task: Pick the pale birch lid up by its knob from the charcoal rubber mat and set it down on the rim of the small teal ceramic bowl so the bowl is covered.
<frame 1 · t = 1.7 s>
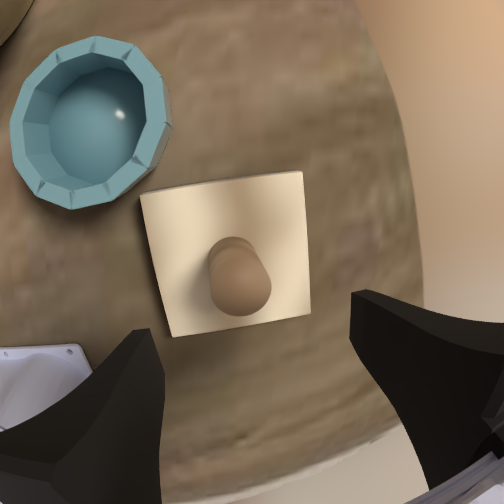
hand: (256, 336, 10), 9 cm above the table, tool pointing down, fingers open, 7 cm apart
lid: (230, 254, 19), point 1 cm above the table, touching mat
bowl: (102, 125, 16), on the table
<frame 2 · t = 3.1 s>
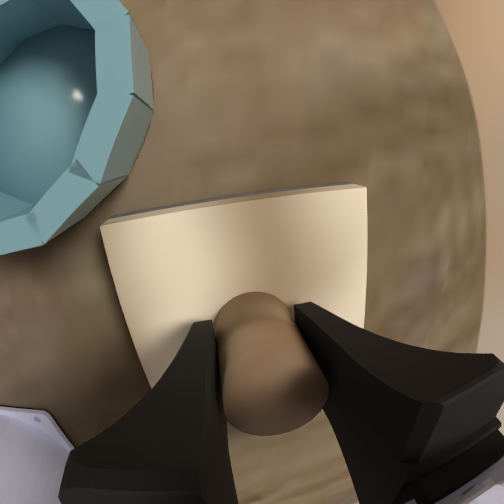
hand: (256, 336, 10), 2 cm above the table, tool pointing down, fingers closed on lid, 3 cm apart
lid: (249, 312, 12), point 1 cm above the table, touching gripper, mat
mat: (246, 305, 13), on the table
bowl: (49, 112, 9), on the table
when the fingers open (7 cm above the table, at t = 5.4 s): lid drops 1 cm, resting on bowl.
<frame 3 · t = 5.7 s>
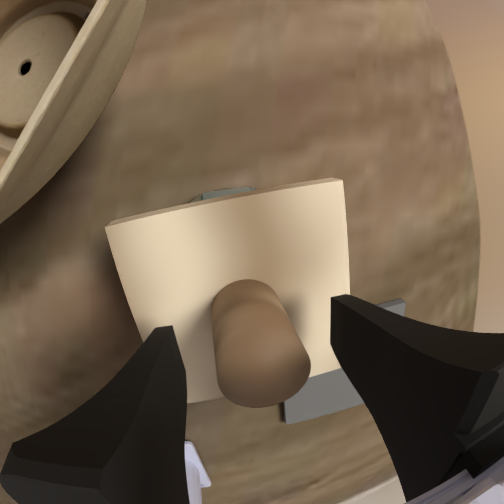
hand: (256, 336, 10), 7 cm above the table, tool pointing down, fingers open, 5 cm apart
lid: (242, 300, 13), point 4 cm above the table, touching bowl
mat: (341, 365, 21), on the table
bowl: (234, 265, 17), on the table
planter bowl: (40, 71, 12), on the table
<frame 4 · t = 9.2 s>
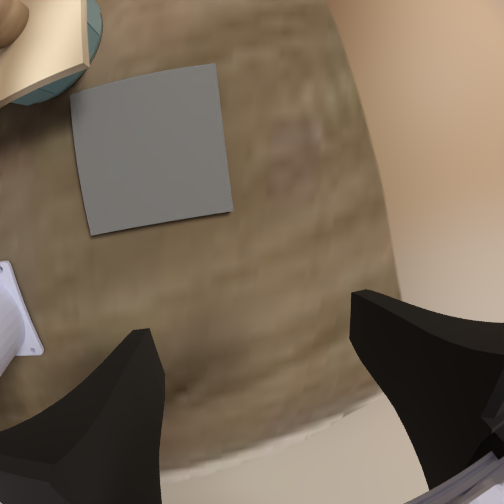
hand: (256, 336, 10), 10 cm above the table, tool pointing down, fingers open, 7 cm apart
lid: (17, 30, 10), point 4 cm above the table, touching bowl
mat: (148, 148, 17), on the table
bowl: (46, 45, 13), on the table
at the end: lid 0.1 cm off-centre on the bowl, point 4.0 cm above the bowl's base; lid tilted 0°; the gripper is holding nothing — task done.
